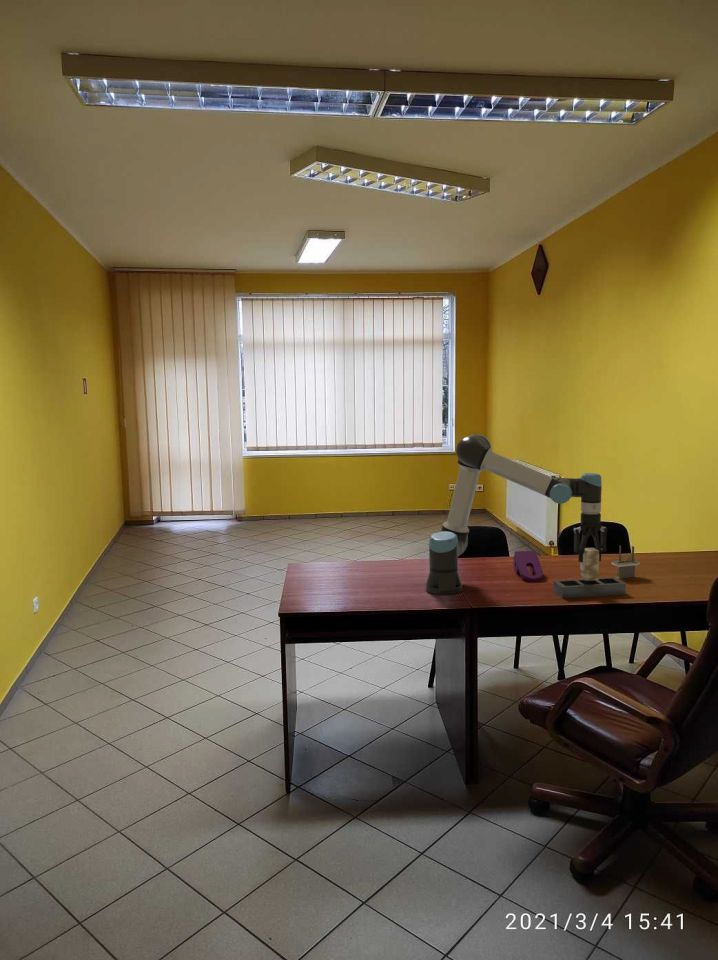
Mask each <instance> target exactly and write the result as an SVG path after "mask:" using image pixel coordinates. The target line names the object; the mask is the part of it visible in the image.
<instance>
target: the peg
mask: <svg viewBox="0 0 718 960" xmlns="http://www.w3.org/2000/svg"><path fill="white" fill-rule="evenodd" d="M584 554H585V571H582V570H581V569H580V579H584V580H586V581H592V580H598V578H599V570H600V561H599V550H597V549H596V548H595V547H585V550H584ZM598 569H599V570H598Z"/></svg>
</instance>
